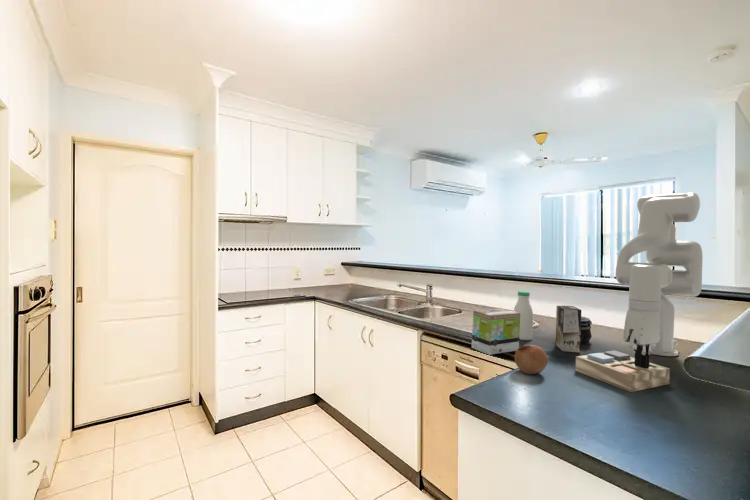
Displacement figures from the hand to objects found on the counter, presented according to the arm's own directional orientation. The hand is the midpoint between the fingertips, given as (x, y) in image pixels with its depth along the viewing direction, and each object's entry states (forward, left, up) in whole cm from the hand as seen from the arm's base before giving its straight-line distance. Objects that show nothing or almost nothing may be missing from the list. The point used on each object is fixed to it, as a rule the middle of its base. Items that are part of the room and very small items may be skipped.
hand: (641, 366), depth 106 cm
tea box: (+22, -39, -5) cm, 45 cm away
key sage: (0, 0, -3) cm, 3 cm away
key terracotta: (+7, 0, -3) cm, 8 cm away
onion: (+27, -16, -4) cm, 32 cm away
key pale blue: (+7, -8, -1) cm, 11 cm away
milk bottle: (0, -48, -4) cm, 48 cm away
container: (-18, -38, -4) cm, 42 cm away
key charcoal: (0, -8, -1) cm, 8 cm away
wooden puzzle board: (+4, -4, -4) cm, 7 cm away
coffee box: (-6, -31, -4) cm, 32 cm away
